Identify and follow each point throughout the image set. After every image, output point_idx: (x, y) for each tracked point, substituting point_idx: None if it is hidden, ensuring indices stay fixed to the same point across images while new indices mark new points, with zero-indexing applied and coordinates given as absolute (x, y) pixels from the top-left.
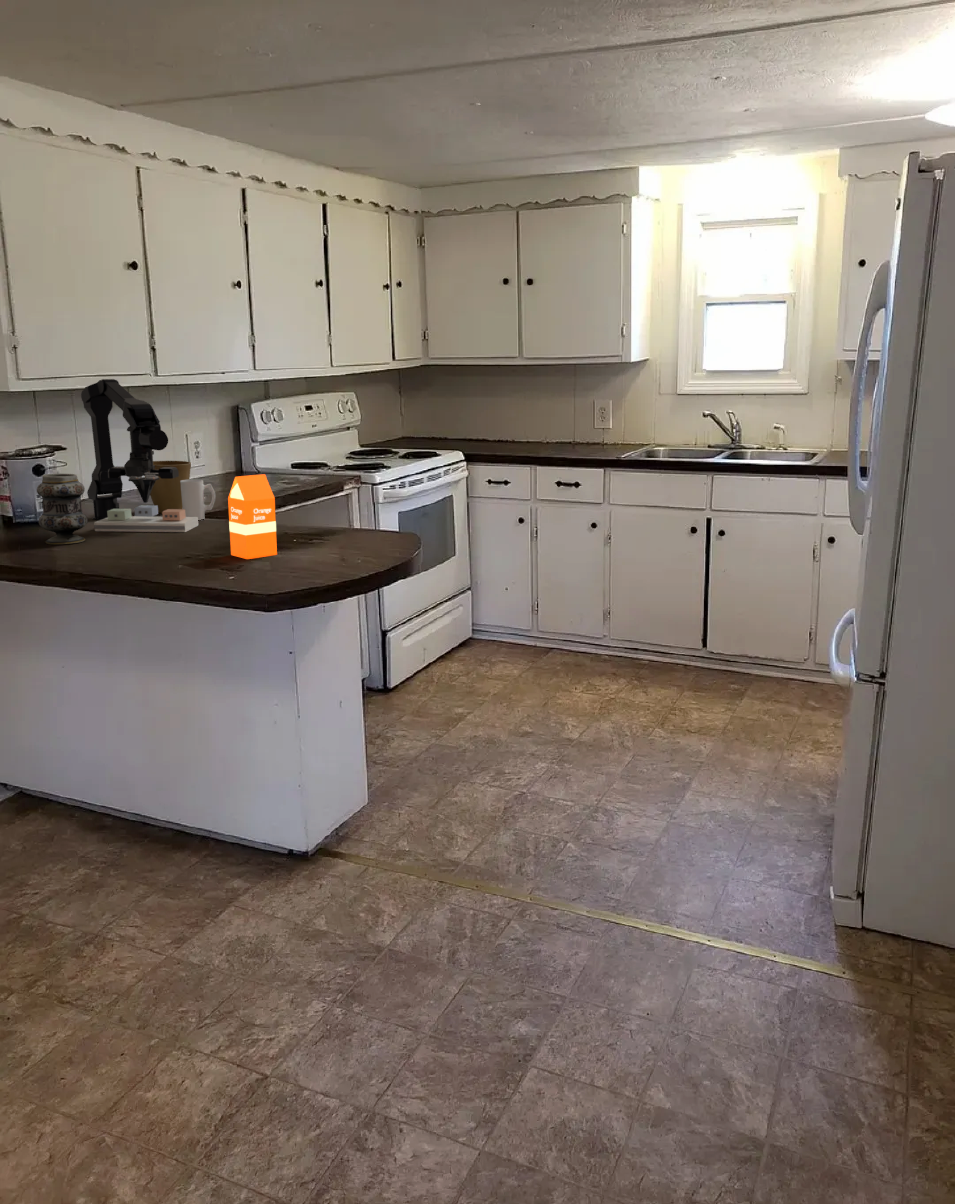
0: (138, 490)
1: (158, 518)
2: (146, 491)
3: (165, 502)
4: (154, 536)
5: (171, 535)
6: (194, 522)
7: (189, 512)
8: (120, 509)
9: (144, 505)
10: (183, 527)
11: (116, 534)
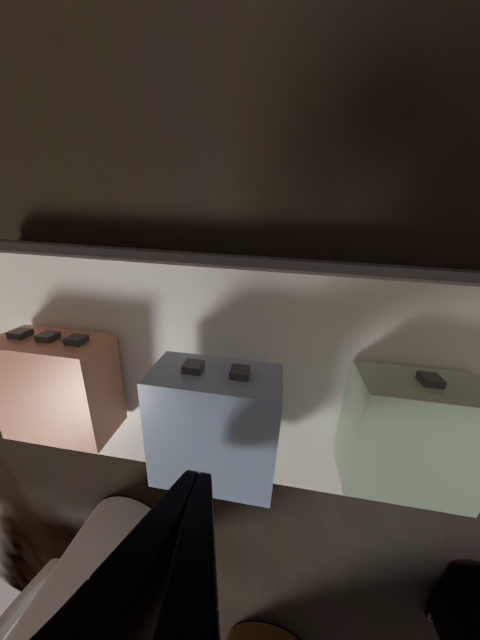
0: (215, 634)
1: None
2: (103, 586)
3: None
4: (96, 81)
5: (24, 131)
6: None
7: (108, 532)
8: (418, 479)
9: (239, 497)
10: None
11: (360, 150)
